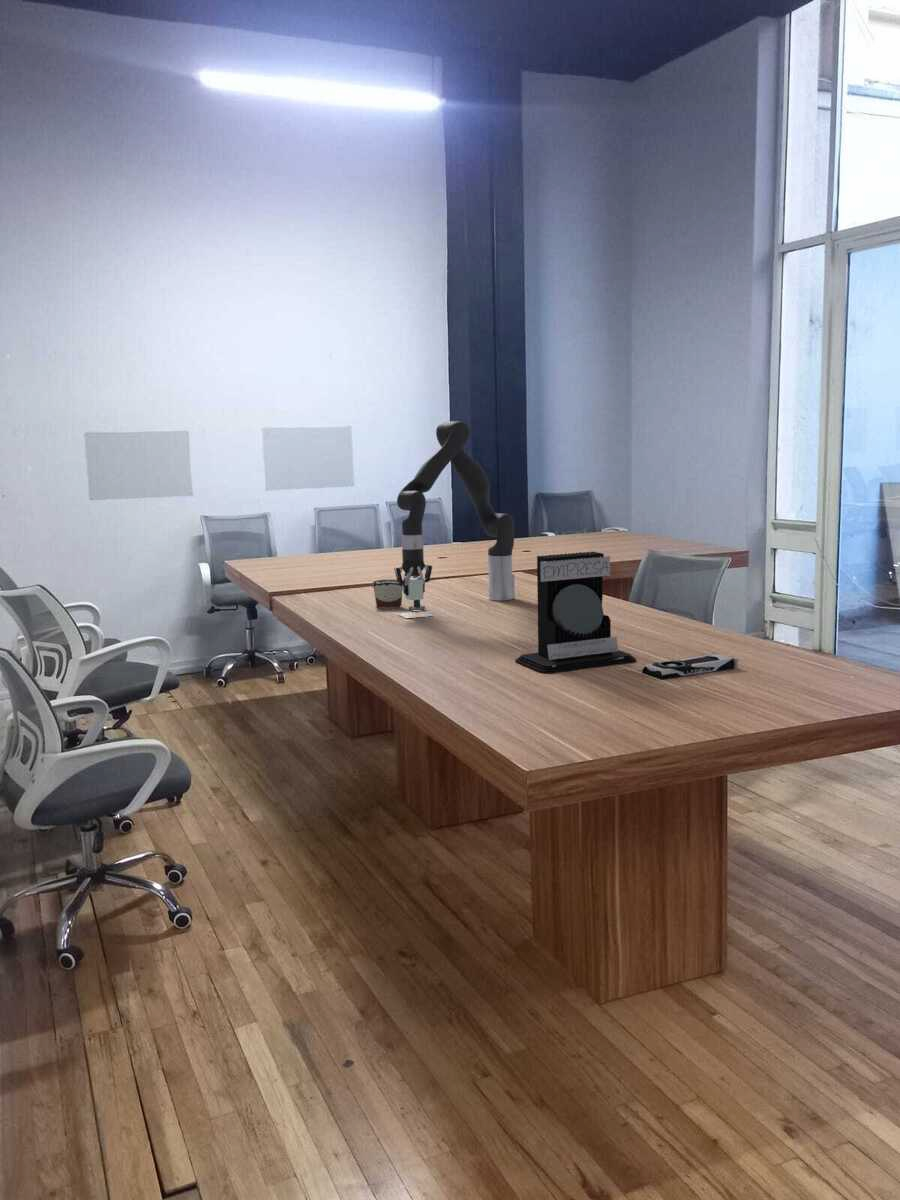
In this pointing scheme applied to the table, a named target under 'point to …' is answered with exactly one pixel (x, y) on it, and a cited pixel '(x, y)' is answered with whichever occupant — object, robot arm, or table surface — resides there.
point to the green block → (415, 589)
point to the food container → (388, 593)
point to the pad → (414, 614)
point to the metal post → (416, 603)
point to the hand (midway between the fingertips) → (414, 594)
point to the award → (573, 615)
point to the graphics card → (690, 666)
